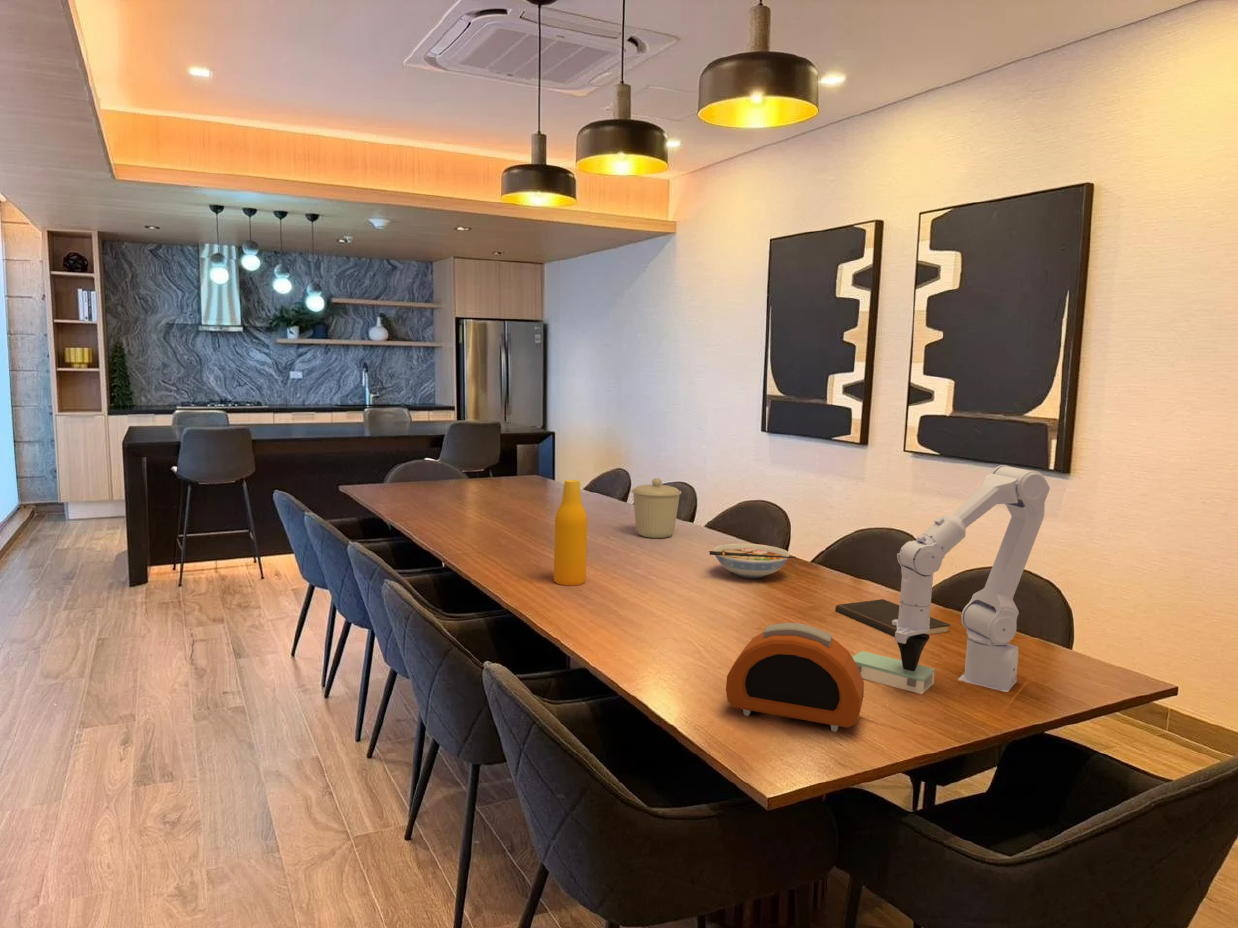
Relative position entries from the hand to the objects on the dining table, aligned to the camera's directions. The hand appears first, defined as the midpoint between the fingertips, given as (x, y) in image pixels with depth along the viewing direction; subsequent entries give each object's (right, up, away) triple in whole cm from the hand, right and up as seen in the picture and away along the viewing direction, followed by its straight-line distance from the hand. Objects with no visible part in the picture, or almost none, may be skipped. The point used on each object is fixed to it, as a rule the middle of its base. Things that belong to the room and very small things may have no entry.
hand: (909, 669), depth 164 cm
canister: (-44, +14, +137) cm, 145 cm away
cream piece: (-3, -3, +3) cm, 5 cm away
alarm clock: (-26, -5, -14) cm, 30 cm away
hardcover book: (+10, +1, +43) cm, 45 cm away
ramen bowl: (-18, +7, +84) cm, 86 cm away
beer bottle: (-71, +7, +71) cm, 101 cm away
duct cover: (-3, 0, +3) cm, 4 cm away
